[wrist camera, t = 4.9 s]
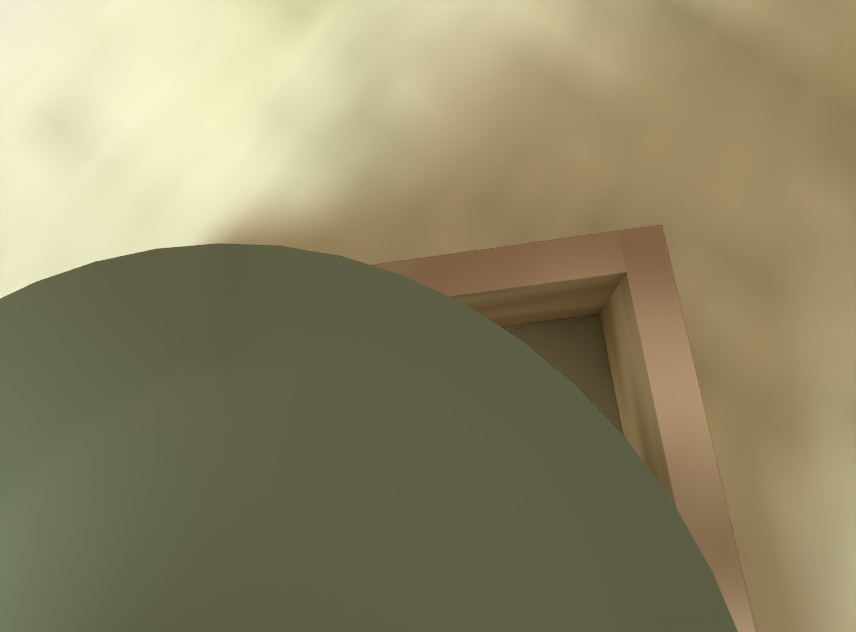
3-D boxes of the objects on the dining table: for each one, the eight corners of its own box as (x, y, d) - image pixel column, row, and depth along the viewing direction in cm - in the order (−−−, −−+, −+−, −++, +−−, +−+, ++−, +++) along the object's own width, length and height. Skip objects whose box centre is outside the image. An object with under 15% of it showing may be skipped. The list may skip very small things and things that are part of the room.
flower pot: (583, 731, 15) (999, 1710, 3) (276, 763, 16) (-568, 1757, 3) (532, 418, 17) (641, 176, 5) (261, 454, 18) (-295, 316, 5)
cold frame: (755, 869, 15) (835, 975, 12) (137, 934, 16) (43, 1052, 12) (628, 274, 19) (662, 224, 16) (134, 342, 19) (62, 307, 16)
